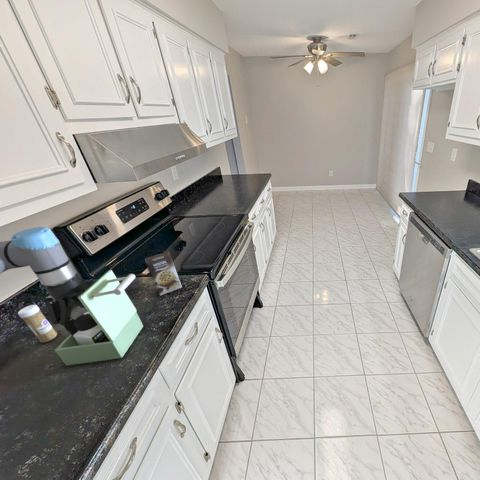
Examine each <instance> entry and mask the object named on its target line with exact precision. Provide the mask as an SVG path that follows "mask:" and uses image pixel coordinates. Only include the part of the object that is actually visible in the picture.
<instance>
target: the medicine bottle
mask: <svg viewBox="0 0 480 480" xmlns="http://www.w3.org/2000/svg"><path fill="white" fill-rule="evenodd" d="M74 320H75V321H74V325H75V326H76V328H77V329H78V332H77V333H75V334H74V335H73V337H74V338H75V339H76V341H77V342H78V344H79V345H87V344H95V343H102V342H110V340H109V339H108V338H107V336H106V335H105V334H104V332H103V331H102V329H101V328H100V327H99V325H98V324H97V323H96V321H95V320H94V319H93V317H92V316H91V315H90V313H89V312H88V311H86V312H84V313H82V314H80V315H79V316H78V317H76V318H74Z"/></svg>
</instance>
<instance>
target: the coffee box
mask: <svg viewBox="0 0 480 480" xmlns="http://www.w3.org/2000/svg"><path fill="white" fill-rule="evenodd" d="M144 260H145V264H146V266H147V268H148V269H147V270H148V271H149V274H150V276H151V278H152V281H153V283H154V285H155V287H156V290H157V293H158V295H159V296H163V295H166V294H168V293H171V292H174V291H176V290H179V289H183V285H182V283H181V280H180V278H179V275H178V272H177V270H176V266H175V264H174V262H173V261H174V260H173V258H172V256H171V253H170V251H165V252H162V253H158V254H154V255H152V256H148V257H145V258H144Z"/></svg>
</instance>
